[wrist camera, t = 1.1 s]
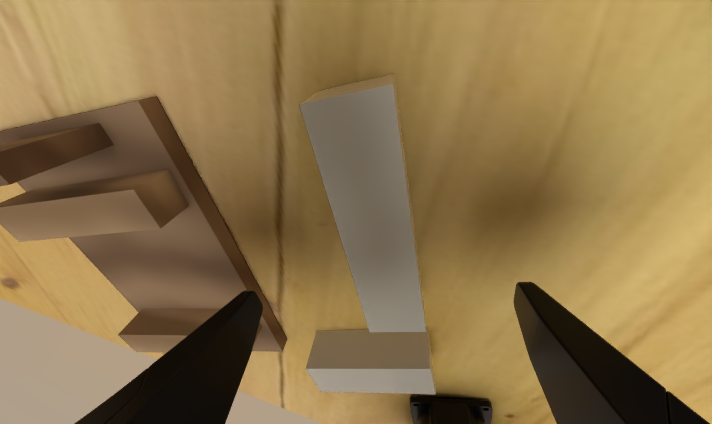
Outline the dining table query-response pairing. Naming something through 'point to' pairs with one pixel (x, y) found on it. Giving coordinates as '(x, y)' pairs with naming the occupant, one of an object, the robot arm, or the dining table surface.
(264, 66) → the dining table surface
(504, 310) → the dining table surface
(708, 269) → the dining table surface
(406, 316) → the grey rectangular bar
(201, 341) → the robot arm
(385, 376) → the clay offcut
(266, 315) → the wooden slotted stand
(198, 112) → the dining table surface
